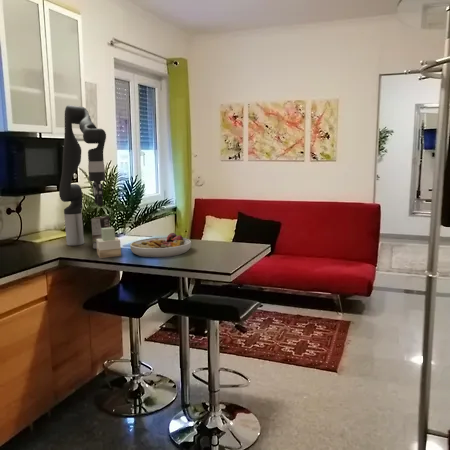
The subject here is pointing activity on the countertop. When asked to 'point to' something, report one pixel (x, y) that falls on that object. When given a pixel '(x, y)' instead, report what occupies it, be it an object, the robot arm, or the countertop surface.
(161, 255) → the bowl
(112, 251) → the tower base
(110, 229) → the sage cube
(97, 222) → the coffee box
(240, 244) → the countertop surface
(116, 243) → the tower top
